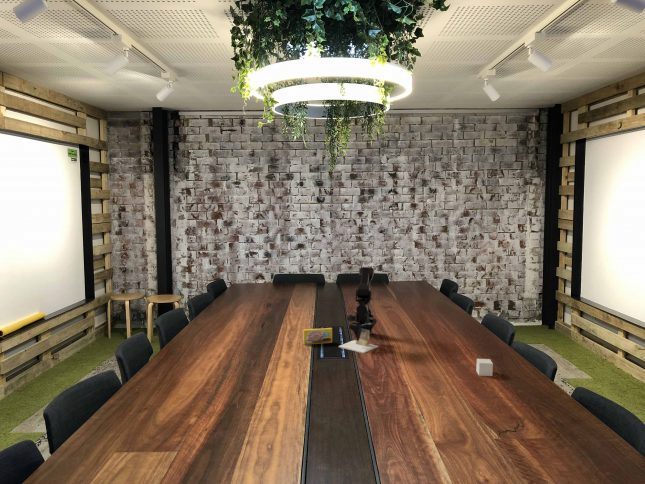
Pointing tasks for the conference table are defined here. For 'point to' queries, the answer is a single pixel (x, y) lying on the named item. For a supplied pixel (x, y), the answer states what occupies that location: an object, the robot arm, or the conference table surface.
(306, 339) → the candy box
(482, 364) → the white cube
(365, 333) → the maple block
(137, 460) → the conference table surface
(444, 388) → the conference table surface
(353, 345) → the mat
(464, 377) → the conference table surface
